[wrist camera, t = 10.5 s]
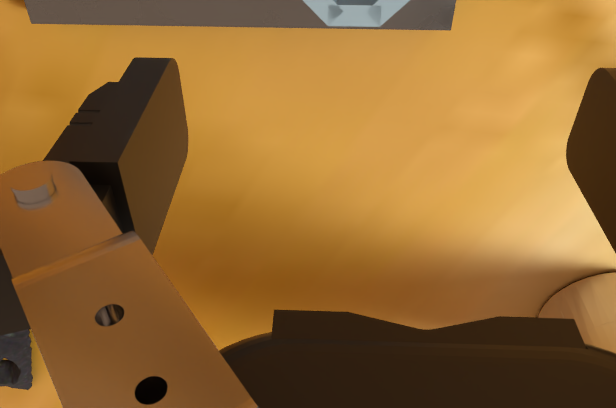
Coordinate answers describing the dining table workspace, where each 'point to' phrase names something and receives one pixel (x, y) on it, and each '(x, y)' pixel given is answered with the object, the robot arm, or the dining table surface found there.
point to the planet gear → (355, 11)
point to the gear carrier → (225, 13)
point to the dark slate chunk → (16, 360)
